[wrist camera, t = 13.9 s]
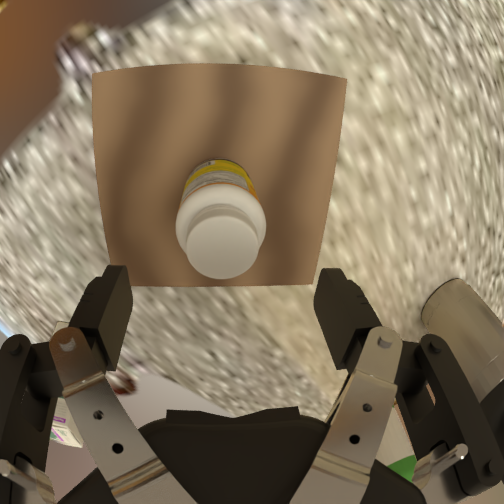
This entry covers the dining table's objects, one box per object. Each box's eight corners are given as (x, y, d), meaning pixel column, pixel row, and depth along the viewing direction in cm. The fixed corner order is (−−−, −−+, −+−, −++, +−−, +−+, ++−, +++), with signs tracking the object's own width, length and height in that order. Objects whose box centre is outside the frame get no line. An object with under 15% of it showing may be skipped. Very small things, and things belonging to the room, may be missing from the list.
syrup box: (56, 319, 30) (19, 415, 18) (97, 327, 31) (67, 431, 19) (66, 348, 33) (39, 437, 21) (104, 355, 34) (83, 450, 22)
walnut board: (341, 79, 20) (347, 79, 19) (309, 277, 31) (312, 284, 30) (97, 73, 18) (92, 73, 17) (118, 278, 28) (115, 285, 27)
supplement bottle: (239, 224, 25) (253, 299, 17) (179, 209, 24) (161, 280, 15) (260, 166, 23) (289, 218, 14) (196, 148, 21) (183, 189, 13)
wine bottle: (392, 389, 49) (442, 510, 24) (385, 405, 53) (428, 514, 28) (357, 401, 49) (402, 530, 24) (354, 416, 53) (392, 530, 28)
